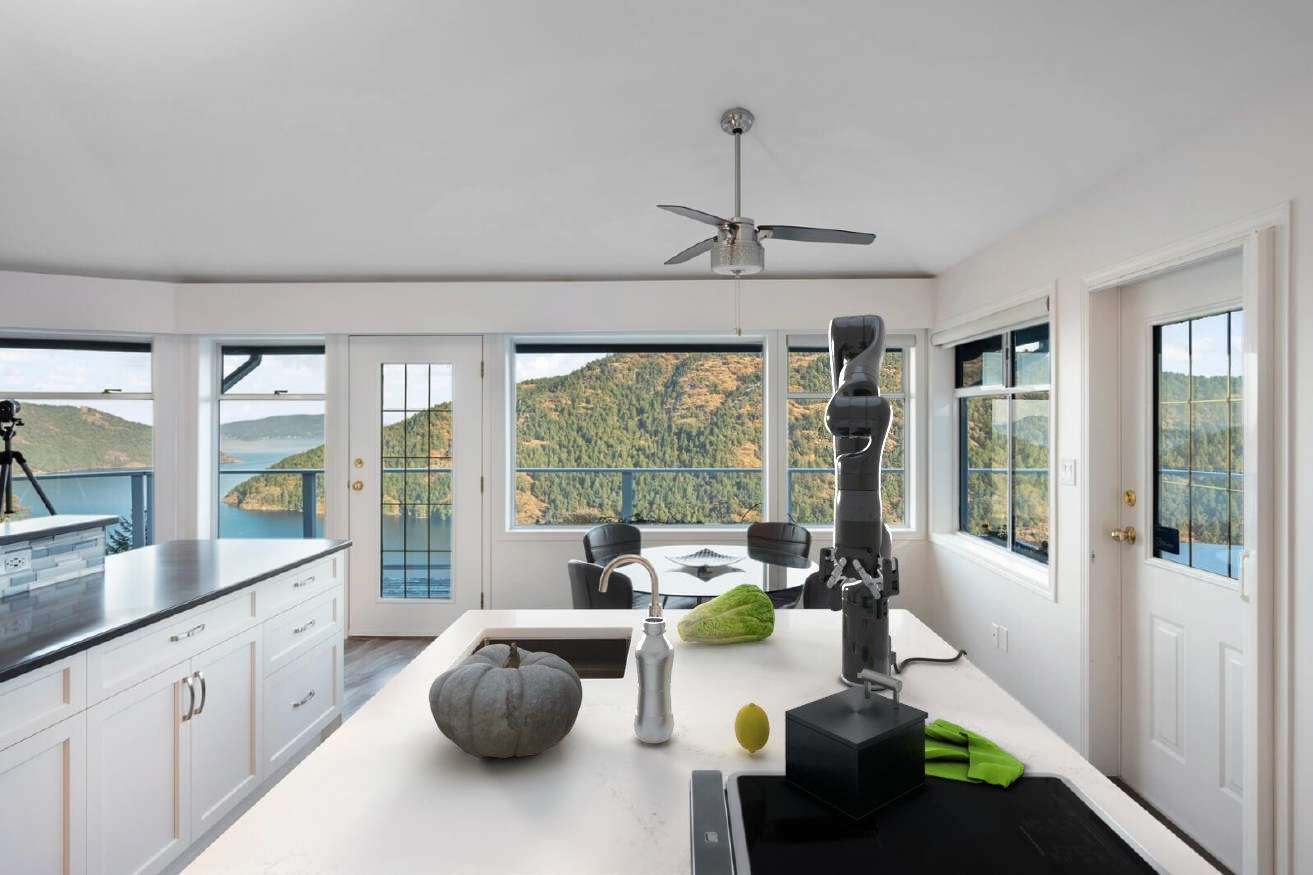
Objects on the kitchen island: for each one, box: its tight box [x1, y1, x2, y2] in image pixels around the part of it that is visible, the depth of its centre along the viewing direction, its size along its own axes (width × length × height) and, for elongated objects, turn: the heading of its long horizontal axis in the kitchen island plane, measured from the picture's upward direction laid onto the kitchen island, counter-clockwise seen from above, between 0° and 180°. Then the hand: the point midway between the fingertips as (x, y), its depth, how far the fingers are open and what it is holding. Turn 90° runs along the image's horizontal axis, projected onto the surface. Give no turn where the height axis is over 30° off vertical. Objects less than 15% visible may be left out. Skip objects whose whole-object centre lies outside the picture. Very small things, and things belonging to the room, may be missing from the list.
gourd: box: [428, 642, 583, 759], centre depth 109 cm, size 25×25×17 cm
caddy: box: [784, 716, 926, 826], centre depth 95 cm, size 16×13×10 cm
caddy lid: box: [784, 669, 929, 750], centre depth 95 cm, size 16×13×5 cm
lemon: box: [734, 702, 771, 754], centre depth 105 cm, size 6×6×8 cm
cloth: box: [925, 718, 1026, 789], centre depth 106 cm, size 20×22×2 cm
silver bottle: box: [633, 616, 675, 744], centre depth 110 cm, size 6×7×20 cm
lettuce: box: [676, 583, 776, 645], centre depth 163 cm, size 14×24×14 cm
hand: (856, 615), depth 108 cm, fingers open, 8 cm apart
